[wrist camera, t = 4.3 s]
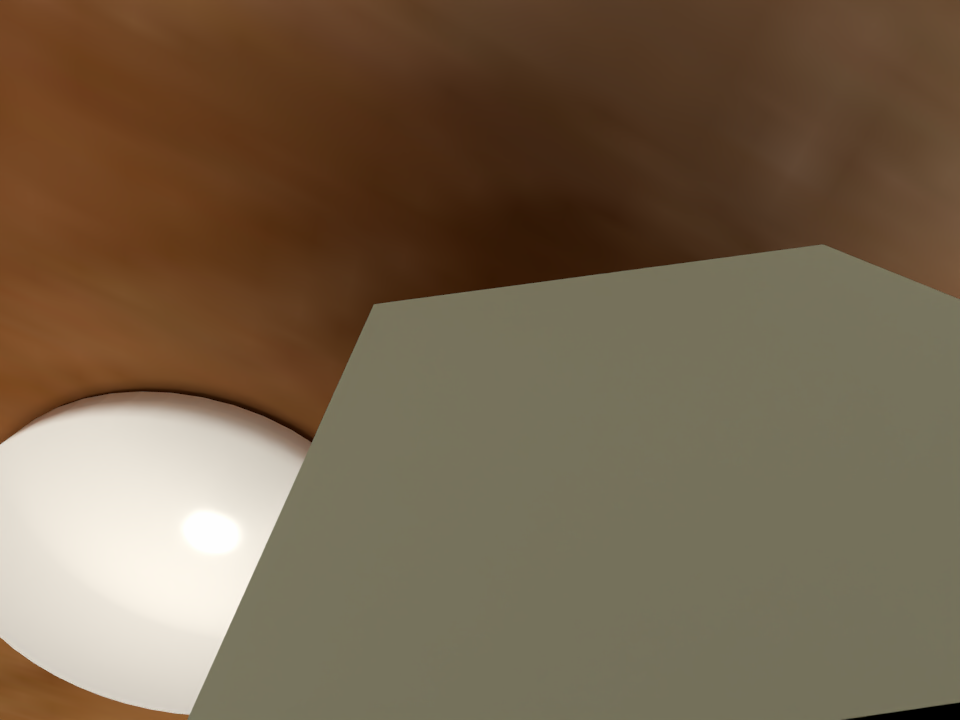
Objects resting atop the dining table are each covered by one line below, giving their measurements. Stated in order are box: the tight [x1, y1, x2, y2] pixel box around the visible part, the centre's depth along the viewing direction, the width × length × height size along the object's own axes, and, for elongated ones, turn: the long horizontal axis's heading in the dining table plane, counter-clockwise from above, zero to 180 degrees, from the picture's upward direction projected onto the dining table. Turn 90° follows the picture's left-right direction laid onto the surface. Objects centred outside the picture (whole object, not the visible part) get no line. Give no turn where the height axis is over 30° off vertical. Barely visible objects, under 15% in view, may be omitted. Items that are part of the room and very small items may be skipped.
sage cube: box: [188, 244, 960, 720], centre depth 6 cm, size 6×6×6 cm
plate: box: [0, 391, 312, 715], centre depth 20 cm, size 15×15×2 cm
